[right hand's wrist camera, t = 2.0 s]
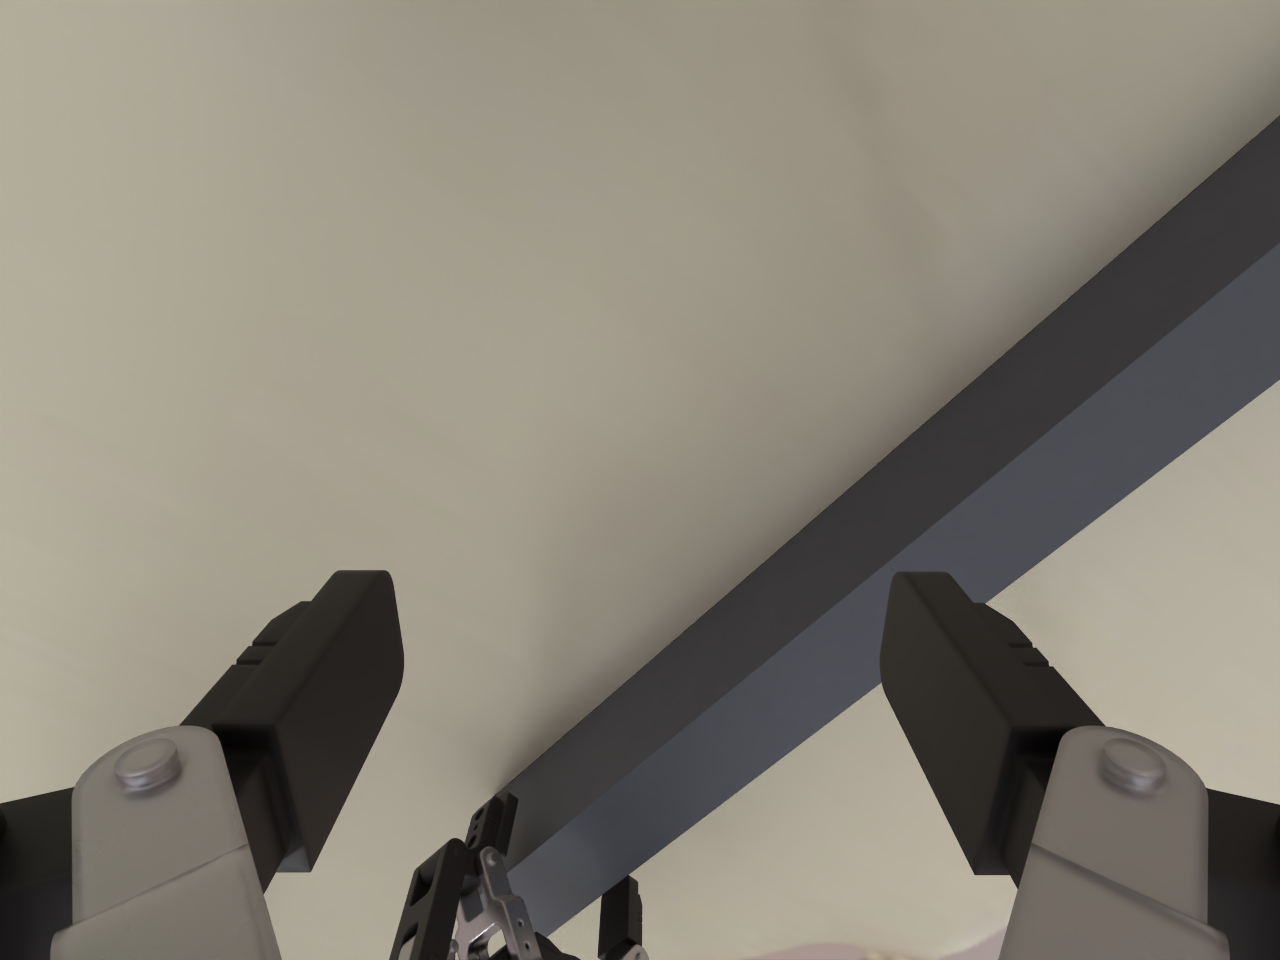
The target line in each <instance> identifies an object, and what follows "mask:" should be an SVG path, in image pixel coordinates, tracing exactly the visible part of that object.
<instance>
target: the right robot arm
mask: <svg viewBox="0 0 1280 960" xmlns="http://www.w3.org/2000/svg"><path fill="white" fill-rule="evenodd" d="M879 662H880V676H881V682H882V686H883V689H884V692H885V695H886V697H887V699H888V701H889V703H890V705H891V707H892V709H893V711H894V713H895V715H896V717H897V719H898V721H899V723H900V725H901V727H902V729H903V731H904V733H905V735H906V737H907V739H908V741H909V743H910V745H911V747H912V749H913V751H914V753H915V755H916V757H917V759H918V761H919V763H920V765H921V767H922V769H923V771H924V774H925V776H926V778H927V780H928V782H929V784H930V786H931V788H932V790H933V792H934V794H935V796H936V798H937V800H938V802H939V804H940V806H941V808H942V810H943V812H944V814H945V816H946V818H947V820H948V822H949V824H950V826H951V828H952V830H953V832H954V834H955V836H956V838H957V840H958V842H959V844H960V846H961V848H962V850H963V852H964V854H965V856H966V858H967V860H968V862H969V864H970V866H971V868H972V870H973V872H974V874H975V875H1010V876H1011V878H1012V880H1013V881H1014V883H1015V885H1016V887H1017V889H1018V891H1017V895H1016V898H1015V902H1014V905H1013V909H1012V913H1011V916H1010V920H1009V923H1008V927H1007V930H1006V934H1005V937H1004V941H1003V944H1002V948H1001V951H1000V955H999V959H998V960H1280V805H1279V804H1274V803H1270V802H1265V801H1261V800H1256V799H1252V798H1247V797H1243V796H1238V795H1234V794H1229V793H1225V792H1220V791H1216V790H1212V789H1208V788H1206V787H1205V785H1204V783H1203V782H1202V780H1201V779H1200V777H1199V776H1198V774H1197V773H1196V772H1195V771H1194V770H1193V769H1192V768H1191V767H1190V766H1189V765H1188V764H1187V763H1186V762H1184V761H1183V760H1182V759H1181V758H1180V757H1178V756H1177V755H1175V754H1174V753H1173V752H1171V751H1169V750H1168V749H1166V748H1164V747H1163V746H1161V745H1159V744H1157V743H1155V742H1153V741H1151V740H1149V739H1147V738H1145V737H1142V736H1140V735H1137V734H1135V733H1131V732H1128V731H1125V730H1121V729H1117V728H1113V727H1106V726H1105V725H1104V724H1103V723H1102V722H1101V720H1100V719H1099V718H1098V717H1097V716H1096V715H1095V714H1094V713H1093V711H1092V710H1091V709H1090V708H1089V707H1088V706H1087V705H1086V703H1085V702H1084V701H1083V700H1082V699H1081V698H1080V697H1079V696H1078V694H1077V693H1076V692H1075V691H1074V690H1073V689H1072V688H1071V686H1070V685H1069V684H1068V683H1067V682H1066V681H1065V680H1064V679H1063V677H1062V676H1061V675H1060V674H1059V673H1058V672H1057V671H1056V669H1055V668H1054V667H1053V666H1049V662H1048V660H1047V659H1046V658H1045V657H1044V656H1043V655H1042V654H1041V653H1040V651H1039V650H1038V649H1037V648H1033V646H1032V642H1031V641H1030V640H1029V639H1028V638H1027V637H1026V636H1025V634H1024V633H1023V632H1022V631H1021V630H1020V629H1019V628H1018V626H1017V625H1016V624H1015V623H1014V622H1013V621H1012V620H1010V619H1008V618H1007V617H1005V616H1004V615H1002V614H1000V613H999V612H997V611H996V610H994V609H992V608H991V607H989V606H988V605H986V604H984V603H973V601H972V600H971V599H970V598H969V597H968V595H967V594H966V593H965V592H964V591H963V589H962V588H961V587H960V586H959V585H958V583H957V582H956V581H955V580H954V578H953V577H952V576H951V575H950V574H949V573H947V572H944V571H899V572H897V573H895V575H894V576H893V578H892V581H891V585H890V591H889V597H888V604H887V610H886V617H885V623H884V630H883V637H882V643H881V650H880V661H879ZM403 671H404V651H403V644H402V638H401V631H400V624H399V618H398V611H397V604H396V598H395V591H394V585H393V581H392V578H391V575H390V574H389V572H388V571H385V570H339V571H337V572H335V573H334V574H333V575H332V576H331V578H330V579H329V580H328V581H327V582H326V584H325V585H324V586H323V587H322V589H321V590H320V591H319V592H318V593H317V595H316V596H315V597H314V598H313V600H312V601H301V602H299V603H298V604H296V605H295V606H293V607H291V608H290V609H288V610H287V611H285V612H283V613H282V614H280V615H279V616H277V617H276V618H274V619H272V620H271V621H270V622H269V623H268V625H267V626H266V627H265V628H264V629H263V630H262V631H261V633H260V634H259V635H258V636H257V637H256V638H255V639H254V641H253V644H252V646H248V647H247V649H246V650H245V651H244V652H243V653H242V654H241V655H240V657H239V658H238V659H237V663H236V665H232V666H231V667H230V668H229V669H228V670H227V671H226V673H225V674H224V675H223V676H222V677H221V678H220V679H219V681H218V682H217V683H216V684H215V685H214V686H213V687H212V689H211V690H210V691H209V692H208V693H207V694H206V695H205V697H204V698H203V699H202V700H201V701H200V702H199V703H198V705H197V706H196V707H195V708H194V709H193V710H192V711H191V713H190V714H189V715H188V716H187V717H186V718H185V719H184V721H183V722H182V723H181V724H180V725H179V726H174V727H167V728H163V729H159V730H155V731H152V732H149V733H145V734H143V735H140V736H138V737H135V738H133V739H131V740H129V741H127V742H125V743H123V744H121V745H119V746H117V747H116V748H114V749H112V750H111V751H109V752H107V753H106V754H105V755H103V756H102V757H100V758H99V759H98V760H97V761H96V762H94V763H93V764H92V765H91V766H90V767H89V768H88V769H87V770H86V771H85V772H84V773H83V774H82V776H81V777H80V779H79V780H78V782H77V783H76V785H75V787H73V788H68V789H64V790H59V791H55V792H50V793H46V794H41V795H37V796H32V797H28V798H23V799H19V800H14V801H10V802H5V803H1V804H0V960H282V959H281V955H280V951H279V948H278V944H277V941H276V937H275V934H274V930H273V927H272V923H271V920H270V916H269V913H268V909H267V905H266V902H265V898H264V893H265V891H266V889H267V888H268V886H269V884H270V882H271V880H272V878H273V876H274V875H275V873H276V872H311V871H312V868H313V866H314V864H315V862H316V860H317V858H318V856H319V854H320V852H321V850H322V848H323V846H324V844H325V842H326V840H327V838H328V836H329V834H330V832H331V830H332V828H333V826H334V824H335V821H336V819H337V817H338V815H339V813H340V811H341V809H342V807H343V805H344V803H345V801H346V799H347V797H348V795H349V793H350V791H351V789H352V787H353V785H354V783H355V781H356V779H357V776H358V774H359V772H360V770H361V768H362V766H363V764H364V762H365V760H366V758H367V756H368V754H369V752H370V750H371V748H372V746H373V744H374V742H375V740H376V738H377V736H378V734H379V732H380V729H381V727H382V725H383V723H384V721H385V719H386V717H387V715H388V713H389V711H390V709H391V707H392V705H393V703H394V701H395V699H396V697H397V695H398V692H399V690H400V687H401V683H402V678H403Z"/></svg>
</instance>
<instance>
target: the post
mask: <svg viewBox="0 0 1280 960" xmlns="http://www.w3.org/2000/svg"><path fill="white" fill-rule="evenodd" d="M1278 380H1280V116H1279V117H1278V118H1277V119H1276V120H1275V121H1274V122H1273V123H1271V124H1270V125H1269V126H1268V127H1267V128H1266V129H1264V130H1263V131H1262V132H1261V133H1260V134H1259V135H1258V136H1256V137H1255V138H1254V139H1253V140H1252V141H1251V142H1249V143H1248V144H1247V145H1246V146H1245V147H1244V148H1243V149H1241V150H1240V151H1239V152H1238V153H1237V154H1236V155H1234V156H1233V157H1232V158H1231V159H1230V160H1229V161H1228V162H1226V163H1225V164H1224V165H1223V166H1222V167H1221V168H1219V169H1218V170H1217V171H1216V172H1215V173H1214V174H1212V175H1211V176H1210V177H1209V178H1208V179H1207V180H1206V181H1204V182H1203V183H1202V184H1201V185H1200V186H1199V187H1197V188H1196V189H1195V190H1194V191H1193V192H1192V193H1191V194H1189V195H1188V196H1187V197H1186V198H1185V199H1184V200H1182V201H1181V202H1180V203H1179V204H1178V205H1177V206H1176V207H1174V208H1173V209H1172V210H1171V211H1170V212H1169V213H1167V214H1166V215H1165V216H1164V217H1163V218H1162V219H1161V220H1159V221H1158V222H1157V223H1156V224H1155V225H1154V226H1152V227H1151V228H1150V229H1149V230H1148V231H1147V232H1146V233H1144V234H1143V235H1142V236H1141V237H1140V238H1139V239H1137V240H1136V241H1135V242H1134V243H1133V244H1132V245H1130V246H1129V247H1128V248H1127V249H1126V250H1125V251H1124V252H1122V253H1121V254H1120V255H1119V256H1118V257H1117V258H1115V259H1114V260H1113V261H1112V262H1111V263H1110V264H1109V265H1107V266H1106V267H1105V268H1104V269H1103V270H1102V271H1100V272H1099V273H1098V274H1097V275H1096V276H1095V277H1094V278H1092V279H1091V280H1090V281H1089V282H1088V283H1087V284H1085V285H1084V286H1083V287H1082V288H1081V289H1080V290H1079V291H1077V292H1076V293H1075V294H1074V295H1073V296H1072V297H1070V298H1069V299H1068V300H1067V301H1066V302H1065V303H1064V304H1062V305H1061V306H1060V307H1059V308H1058V309H1057V310H1055V311H1054V312H1053V313H1052V314H1051V315H1050V316H1049V317H1047V318H1046V319H1045V320H1044V321H1043V322H1042V323H1040V324H1039V325H1038V326H1037V327H1036V328H1035V329H1033V330H1032V331H1031V332H1030V333H1029V334H1028V335H1027V336H1025V337H1024V338H1023V339H1022V340H1021V341H1020V342H1018V343H1017V344H1016V345H1015V346H1014V347H1013V348H1012V349H1010V350H1009V351H1008V352H1007V353H1006V354H1005V355H1003V356H1002V357H1001V358H1000V359H999V360H998V361H997V362H995V363H994V364H993V365H992V366H991V367H990V368H988V369H987V370H986V371H985V372H984V373H983V374H982V375H980V376H979V377H978V378H977V379H976V380H975V381H973V382H972V383H971V384H970V385H969V386H968V387H967V388H965V389H964V390H963V391H962V392H961V393H960V394H958V395H957V396H956V397H955V398H954V399H953V400H951V401H950V402H949V403H948V404H947V405H946V406H945V407H943V408H942V409H941V410H940V411H939V412H938V413H936V414H935V415H934V416H933V417H932V418H931V419H930V420H928V421H927V422H926V423H925V424H924V425H923V426H921V427H920V428H919V429H918V430H917V431H916V432H915V433H913V434H912V435H911V436H910V437H909V438H908V439H906V440H905V441H904V442H903V443H902V444H901V445H900V446H898V447H897V448H896V449H895V450H894V451H893V452H891V453H890V454H889V455H888V456H887V457H886V458H885V459H883V460H882V461H881V462H880V463H879V464H878V465H876V466H875V467H874V468H873V469H872V470H871V471H869V472H868V473H867V474H866V475H865V476H864V477H863V478H861V479H860V480H859V481H858V482H857V483H856V484H854V485H853V486H852V487H851V488H850V489H849V490H848V491H846V492H845V493H844V494H843V495H842V496H841V497H839V498H838V499H837V500H836V501H835V502H834V503H833V504H831V505H830V506H829V507H828V508H827V509H826V510H824V511H823V512H822V513H821V514H820V515H819V516H818V517H816V518H815V519H814V520H813V521H812V522H811V523H809V524H808V525H807V526H806V527H805V528H804V529H803V530H801V531H800V532H799V533H798V534H797V535H796V536H794V537H793V538H792V539H791V540H790V541H789V542H788V543H786V544H785V545H784V546H783V547H782V548H781V549H779V550H778V551H777V552H776V553H775V554H774V555H772V556H771V557H770V558H769V559H768V560H767V561H766V562H764V563H763V564H762V565H761V566H760V567H759V568H757V569H756V570H755V571H754V572H753V573H752V574H751V575H749V576H748V577H747V578H746V579H745V580H744V581H742V582H741V583H740V584H739V585H738V586H737V587H736V588H734V589H733V590H732V591H731V592H730V593H729V594H727V595H726V596H725V597H724V598H723V599H722V600H721V601H719V602H718V603H717V604H716V605H715V606H714V607H712V608H711V609H710V610H709V611H708V612H707V613H706V614H704V615H703V616H702V617H701V618H700V619H699V620H697V621H696V622H695V623H694V624H693V625H692V626H690V627H689V628H688V629H687V630H686V631H685V632H684V633H682V634H681V635H680V636H679V637H678V638H677V639H675V640H674V641H673V642H672V643H671V644H670V645H669V646H667V647H666V648H665V649H664V650H663V651H662V652H660V653H659V654H658V655H657V656H656V657H655V658H654V659H652V660H651V661H650V662H649V663H648V664H647V665H645V666H644V667H643V668H642V669H641V670H640V671H639V672H637V673H636V674H635V675H634V676H633V677H632V678H630V679H629V680H628V681H627V682H626V683H625V684H624V685H622V686H621V687H620V688H619V689H618V690H617V691H615V692H614V693H613V694H612V695H611V696H610V697H608V698H607V699H606V700H605V701H604V702H603V703H602V704H600V705H599V706H598V707H597V708H596V709H595V710H593V711H592V712H591V713H590V714H589V715H588V716H587V717H585V718H584V719H583V720H582V721H581V722H580V723H578V724H577V725H576V726H575V727H574V728H573V729H572V730H570V731H569V732H568V733H567V734H566V735H565V736H563V737H562V738H561V739H560V740H559V741H558V742H557V743H555V744H554V745H553V746H552V747H551V748H550V749H548V750H547V751H546V752H545V753H544V754H543V755H542V756H540V757H539V758H538V759H537V760H536V761H535V762H533V763H532V764H531V765H530V766H529V767H528V768H526V769H525V770H524V771H523V772H522V773H521V774H520V775H518V776H517V777H516V778H515V779H514V780H513V781H511V782H510V783H509V784H508V785H507V786H506V787H505V788H503V789H502V790H501V791H500V792H499V793H498V794H496V795H495V796H497V797H499V796H500V795H501V794H502V793H503V792H505V791H508V792H510V793H511V794H513V795H514V796H515V797H517V798H518V805H517V810H516V814H515V819H514V824H513V828H512V833H511V837H510V842H509V847H508V851H507V856H506V857H505V858H504V859H502V861H503V864H504V868H505V871H506V874H507V877H508V880H509V884H510V887H511V890H512V893H513V894H514V895H518V896H520V897H521V898H522V899H523V900H524V903H525V906H526V909H527V912H528V915H529V919H530V922H531V925H532V928H533V931H534V933H535V932H536V931H537V932H538V933H540V934H541V935H543V936H544V937H547V936H549V935H550V934H551V933H553V932H554V931H555V930H556V929H558V928H559V927H560V926H562V925H563V924H564V923H566V922H567V921H568V920H570V919H571V918H572V917H574V916H575V915H576V914H578V913H579V912H580V911H581V910H583V909H584V908H585V907H587V906H588V905H589V904H591V903H592V902H593V901H595V900H596V899H597V898H599V897H600V896H601V895H603V894H604V893H605V892H606V891H608V890H609V889H610V888H612V887H613V886H614V885H616V884H617V883H618V882H620V881H621V880H622V879H624V878H625V877H626V876H627V875H629V874H630V873H631V872H633V871H634V870H635V869H637V868H638V867H639V866H641V865H642V864H643V863H645V862H646V861H647V860H649V859H650V858H651V857H652V856H654V855H655V854H656V853H658V852H659V851H660V850H662V849H663V848H664V847H666V846H667V845H668V844H670V843H671V842H672V841H674V840H675V839H676V838H677V837H679V836H680V835H681V834H683V833H684V832H685V831H687V830H688V829H689V828H691V827H692V826H693V825H695V824H696V823H697V822H698V821H700V820H701V819H702V818H704V817H705V816H706V815H708V814H709V813H710V812H712V811H713V810H714V809H716V808H717V807H718V806H720V805H721V804H722V803H723V802H725V801H726V800H727V799H729V798H730V797H731V796H733V795H734V794H735V793H737V792H738V791H739V790H741V789H742V788H743V787H745V786H746V785H747V784H748V783H750V782H751V781H752V780H754V779H755V778H756V777H758V776H759V775H760V774H762V773H763V772H764V771H766V770H767V769H768V768H770V767H771V766H772V765H773V764H775V763H776V762H777V761H779V760H780V759H781V758H783V757H784V756H785V755H787V754H788V753H789V752H791V751H792V750H793V749H794V748H796V747H797V746H798V745H800V744H801V743H802V742H804V741H805V740H806V739H808V738H809V737H810V736H812V735H813V734H814V733H816V732H817V731H818V730H819V729H821V728H822V727H823V726H825V725H826V724H827V723H829V722H830V721H831V720H833V719H834V718H835V717H837V716H838V715H839V714H841V713H842V712H843V711H844V710H846V709H847V708H848V707H850V706H851V705H852V704H854V703H855V702H856V701H858V700H859V699H860V698H862V697H863V696H864V695H866V694H867V693H868V692H869V691H871V690H872V689H873V688H875V687H876V686H877V685H879V684H880V683H881V676H880V662H879V661H880V650H881V643H882V637H883V630H884V623H885V617H886V610H887V604H888V597H889V591H890V585H891V581H892V578H893V576H894V575H895V573H897V572H899V571H944V572H947V573H949V574H950V575H951V576H952V577H953V578H954V580H955V581H956V582H957V583H958V585H959V586H960V587H961V588H962V589H963V591H964V592H965V593H966V594H967V595H968V597H969V598H970V599H971V600H972V601H973V603H984V604H985V603H986V602H988V601H989V600H990V599H992V598H993V597H994V596H996V595H997V594H998V593H1000V592H1001V591H1002V590H1004V589H1005V588H1006V587H1008V586H1009V585H1010V584H1011V583H1013V582H1014V581H1015V580H1017V579H1018V578H1019V577H1021V576H1022V575H1023V574H1025V573H1026V572H1027V571H1029V570H1030V569H1031V568H1033V567H1034V566H1035V565H1036V564H1038V563H1039V562H1040V561H1042V560H1043V559H1044V558H1046V557H1047V556H1048V555H1050V554H1051V553H1052V552H1054V551H1055V550H1056V549H1057V548H1059V547H1060V546H1061V545H1063V544H1064V543H1065V542H1067V541H1068V540H1069V539H1071V538H1072V537H1073V536H1075V535H1076V534H1077V533H1079V532H1080V531H1081V530H1082V529H1084V528H1085V527H1086V526H1088V525H1089V524H1090V523H1092V522H1093V521H1094V520H1096V519H1097V518H1098V517H1100V516H1101V515H1102V514H1104V513H1105V512H1106V511H1107V510H1109V509H1110V508H1111V507H1113V506H1114V505H1115V504H1117V503H1118V502H1119V501H1121V500H1122V499H1123V498H1125V497H1126V496H1127V495H1129V494H1130V493H1131V492H1132V491H1134V490H1135V489H1136V488H1138V487H1139V486H1140V485H1142V484H1143V483H1144V482H1146V481H1147V480H1148V479H1150V478H1151V477H1152V476H1153V475H1155V474H1156V473H1157V472H1159V471H1160V470H1161V469H1163V468H1164V467H1165V466H1167V465H1168V464H1169V463H1171V462H1172V461H1173V460H1175V459H1176V458H1177V457H1178V456H1180V455H1181V454H1182V453H1184V452H1185V451H1186V450H1188V449H1189V448H1190V447H1192V446H1193V445H1194V444H1196V443H1197V442H1198V441H1200V440H1201V439H1202V438H1203V437H1205V436H1206V435H1207V434H1209V433H1210V432H1211V431H1213V430H1214V429H1215V428H1217V427H1218V426H1219V425H1221V424H1222V423H1223V422H1224V421H1226V420H1227V419H1228V418H1230V417H1231V416H1232V415H1234V414H1235V413H1236V412H1238V411H1239V410H1240V409H1242V408H1243V407H1244V406H1246V405H1247V404H1248V403H1249V402H1251V401H1252V400H1253V399H1255V398H1256V397H1257V396H1259V395H1260V394H1261V393H1263V392H1264V391H1265V390H1267V389H1268V388H1269V387H1271V386H1272V385H1273V384H1274V383H1276V382H1277V381H1278ZM478 892H479V895H480V899H481V902H482V906H483V909H484V910H485V908H486V900H485V897H484V893H483V890H482V886H480V887H479V888H478Z"/></svg>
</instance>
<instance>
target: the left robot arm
mask: <svg viewBox="0 0 1280 960" xmlns="http://www.w3.org/2000/svg"><path fill="white" fill-rule="evenodd" d="M517 805H518V798H517V797H515V796H514V795H513V794H511V793H510V792H508V791H505V792H503V793H502V794H501V795H500V796H499V797H497V796H494V797H492V798H491V799H490V800H489V801H488V802H487V803H485V804H484V805H483V806H482V807H481V808H480V809H478V810H477V811H476V813H475V814H474V815H473V816H472V819H471V822H470V826H469V829H468V833H467V837H466V840H465V843H464V842H463V841H461V840H460V839H457V838H453V839H451V840H449V841H448V842H447V843H446V844H445V845H443V846H442V847H441V848H440V849H439V850H438V851H436V852H435V853H434V854H433V855H432V856H431V857H429V858H428V859H427V860H426V861H425V862H424V863H422V864H421V865H420V866H419V867H418V868H416V870H415V871H414V874H413V877H412V881H411V884H410V888H409V892H408V895H407V899H406V902H405V906H404V909H403V913H402V916H401V920H400V923H399V927H398V930H397V934H396V937H395V941H394V945H393V948H392V952H391V955H390V959H389V960H455V953H456V952H457V953H458V957H459V960H580V959H579V958H577V957H575V956H572V955H569V954H565V953H562V952H561V951H560V950H559V949H558V948H557V947H556V946H555V945H554V944H553V943H552V942H551V941H550V940H549V939H547V938H546V937H544V936H543V935H541V934H540V933H538V932H537V931H536V932H535V933H534V931H533V928H532V925H531V922H530V919H529V915H528V912H527V909H526V906H525V903H524V900H523V899H522V898H521V897H520V896H518V895H514V894H513V893H512V890H511V887H510V884H509V880H508V877H507V874H506V871H505V868H504V864H503V861H502V859H504V858H505V857H506V856H507V851H508V847H509V842H510V837H511V833H512V828H513V824H514V819H515V814H516V810H517ZM480 886H482V890H483V893H484V897H485V900H486V908H485V910H484V909H483V906H482V902H481V899H480V895H479V892H478V888H479V887H480ZM456 917H457V921H458V930H457V933H456V936H455V939H451V938H452V934H453V929H454V924H455V919H456ZM500 929H502V931H503V934H504V937H505V941H506V945H505V946H503V947H502V948H501V949H499V950H498V951H497V952H496V953H495V954H493V955H492V956H491V957H490V958H489V955H488V949H487V946H488V941H489V939H490V937H491V936H493V935H494V934H495V933H496V932H498V931H499V930H500ZM598 958H599V959H601V960H649V958H648V955H647V953H646V951H645V950H644V948H643V947H642V902H641V898H640V895H639V894H638V882H637V881H636V880H635V879H634V878H632V877H631V876H629V875H627V876H626V877H625V878H624V879H622V880H621V881H620V882H618V883H617V884H616V885H614V886H613V887H612V888H610V889H609V890H608V891H606V892H605V893H604V894H603V895H602V899H601V914H600V929H599V944H598Z"/></svg>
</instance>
